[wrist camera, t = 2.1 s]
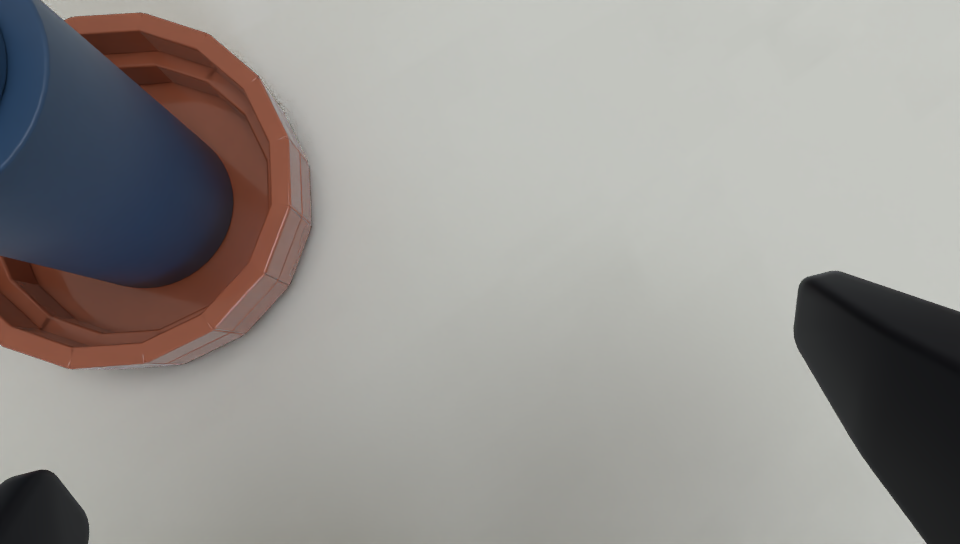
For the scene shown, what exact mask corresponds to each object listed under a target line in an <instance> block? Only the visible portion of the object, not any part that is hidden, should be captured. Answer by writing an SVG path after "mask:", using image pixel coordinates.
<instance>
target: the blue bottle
mask: <svg viewBox="0 0 960 544" xmlns="http://www.w3.org/2000/svg"><path fill="white" fill-rule="evenodd" d="M232 211H233V192H232V186H231V182H230V179H229V176H228V173H227V171H226V169H225V167H224V165H223V163H222V161H221V160H220V158H219V157H218V155H217V154H216V153H215V152H214V151H213V150H212V149H211V148H210V147H209V146H208V145H207V144H206V143H205V142H204V141H202V140H201V139H200V138H199V137H198V136H197V135H196V134H194V133H193V132H192V131H191V130H190V129H189V128H187V127H186V126H185V125H184V124H183V123H182V122H180V121H179V120H178V119H177V118H176V117H175V116H174V115H172V114H171V113H170V112H169V111H168V110H167V109H165V108H164V107H163V106H162V105H161V104H160V103H159V102H157V101H156V100H155V99H154V98H153V97H152V96H150V95H149V94H148V93H147V92H146V91H145V90H144V89H142V88H141V87H140V86H139V85H138V84H137V83H135V82H134V81H133V80H132V79H131V78H130V77H129V76H127V75H126V74H125V73H124V72H123V71H122V70H120V69H119V68H118V67H117V66H116V65H115V64H114V63H112V62H111V61H110V60H109V59H108V58H107V57H105V56H104V55H103V54H102V53H101V52H100V51H99V50H97V49H96V48H95V47H94V46H93V45H92V44H90V43H89V42H88V41H87V40H86V39H85V38H84V37H82V36H81V35H80V34H79V33H78V32H77V31H75V30H74V29H73V28H72V27H71V26H70V25H69V24H67V23H66V22H65V21H64V20H63V19H62V18H60V17H59V16H58V15H57V14H56V13H55V12H54V11H52V10H51V9H50V8H49V7H48V6H47V5H45V4H44V3H43V2H42V1H41V0H0V256H4V257H8V258H12V259H16V260H20V261H24V262H29V263H33V264H37V265H41V266H45V267H49V268H53V269H57V270H61V271H65V272H69V273H73V274H77V275H82V276H86V277H90V278H94V279H98V280H102V281H106V282H110V283H114V284H118V285H122V286H128V287H133V288H153V287H160V286H165V285H169V284H172V283H174V282H177V281H180V280H182V279H184V278H186V277H188V276H189V275H191V274H192V273H194V272H195V271H197V270H198V269H200V268H201V267H202V266H203V265H204V264H205V263H207V262H208V260H209V259H210V258H211V257H212V256H213V255H214V254H215V252H216V251H217V250H218V248H219V247H220V245H221V244H222V242H223V240H224V238H225V236H226V234H227V231H228V228H229V225H230V222H231V217H232Z"/></svg>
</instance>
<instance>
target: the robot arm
mask: <svg viewBox="0 0 960 544" xmlns="http://www.w3.org/2000/svg"><path fill="white" fill-rule="evenodd" d="M794 339H795V343H796V345H797V348H798V350H799V352H800V353H801V355H802V357H803V358H804V360H805V362H806V363H807V365H808V367H809V369H810V370H811V372H812V374H813V375H814V377H815V379H816V380H817V382H818V384H819V385H820V387H821V389H822V391H823V392H824V394H825V396H826V397H827V399H828V401H829V402H830V404H831V406H832V408H833V409H834V411H835V413H836V414H837V416H838V418H839V419H840V421H841V423H842V425H843V426H844V428H845V430H846V431H847V433H848V435H849V436H850V438H851V440H852V441H853V443H854V444H855V446H856V447H857V449H858V451H859V452H860V454H861V455H862V457H863V458H864V459H865V461H866V462H867V464H868V465H869V466H870V468H871V469H872V471H873V472H874V473H875V475H876V476H877V477H878V479H879V480H880V481H881V483H882V484H883V485H884V487H885V488H886V489H887V491H888V492H889V493H890V495H891V496H892V497H893V499H894V500H895V502H896V503H897V504H898V506H899V507H900V508H901V510H902V511H903V512H904V514H905V515H906V516H907V518H908V519H909V520H910V522H911V523H912V524H913V526H914V527H915V528H916V530H917V531H918V532H919V534H920V535H921V536H922V538H923V539H924V540H925V542H926V543H927V544H960V312H959V311H956V310H953V309H950V308H947V307H944V306H941V305H938V304H935V303H932V302H929V301H926V300H923V299H920V298H917V297H914V296H911V295H909V294H906V293H903V292H900V291H897V290H894V289H891V288H888V287H885V286H882V285H879V284H876V283H873V282H870V281H867V280H864V279H861V278H858V277H855V276H852V275H849V274H846V273H843V272H840V271H829V272H825V273H821V274H817V275H813V276H809V277H806V278H805V279H803V280H802V281H801V283H800V285H799V288H798V295H797V304H796V312H795V321H794ZM88 540H89V523H88V518H87V516H86V514H85V512H84V510H83V509H82V507H81V506H80V505H79V504H78V502H77V501H76V500H75V499H74V497H73V496H72V495H71V494H70V492H69V491H68V490H67V488H66V487H65V486H64V485H63V483H62V482H61V481H60V480H59V478H58V477H57V476H56V475H55V474H54V473H52V472H51V471H48V470H37V471H33V472H29V473H25V474H22V475H18V476H14V477H11V478H9V479H7V480H5V481H4V482H3V483H1V484H0V544H88Z"/></svg>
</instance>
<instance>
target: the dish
mask: <svg viewBox="0 0 960 544" xmlns="http://www.w3.org/2000/svg"><path fill="white" fill-rule="evenodd" d="M64 21H65V22H66V23H67V24H69V25H70V26H71V27H72V28H73V29H74V30H75V31H77V32H78V33H79V34H80V35H81V36H82V37H84V38H85V39H86V40H87V41H88V42H89V43H90V44H92V45H93V46H94V47H95V48H96V49H97V50H99V51H100V52H101V53H102V54H103V55H104V56H105V57H107V58H108V59H109V60H110V61H111V62H112V63H114V64H115V65H116V66H117V67H118V68H119V69H120V70H122V71H123V72H124V73H125V74H126V75H127V76H129V77H130V78H131V79H132V80H133V81H134V82H135V83H137V84H138V85H139V86H140V87H141V88H142V89H144V90H145V91H146V92H147V93H148V94H149V95H150V96H152V97H153V98H154V99H155V100H156V101H157V102H159V103H160V104H161V105H162V106H163V107H164V108H165V109H167V110H168V111H169V112H170V113H171V114H172V115H174V116H175V117H176V118H177V119H178V120H179V121H180V122H182V123H183V124H184V125H185V126H186V127H187V128H189V129H190V130H191V131H192V132H193V133H194V134H196V135H197V136H198V137H199V138H200V139H201V140H202V141H204V142H205V143H206V144H207V145H208V146H209V147H210V148H211V149H212V150H213V151H214V152H215V153H216V154H217V155H218V157H219V158H220V160H221V161H222V163H223V165H224V167H225V169H226V171H227V173H228V176H229V179H230V182H231V186H232V192H233V211H232V217H231V222H230V225H229V228H228V231H227V234H226V236H225V238H224V240H223V242H222V244H221V245H220V247H219V248H218V250H217V251H216V252H215V254H214V255H213V256H212V257H211V258H210V259H209V260H208V262H207V263H205V264H204V265H203V266H202V267H201V268H200V269H198V270H197V271H195V272H194V273H192V274H191V275H189V276H188V277H186V278H184V279H182V280H180V281H177V282H174V283H172V284H169V285H165V286H160V287H153V288H133V287H128V286H122V285H118V284H114V283H110V282H106V281H102V280H98V279H94V278H90V277H86V276H82V275H77V274H73V273H69V272H65V271H61V270H57V269H53V268H49V267H45V266H41V265H37V264H33V263H29V262H24V261H20V260H16V259H12V258H8V257H4V256H0V345H1V346H3V347H5V348H8V349H11V350H14V351H17V352H20V353H23V354H26V355H29V356H32V357H35V358H38V359H41V360H44V361H47V362H50V363H53V364H56V365H58V366H61V367H64V368H67V369H131V368H144V367H158V366H171V365H182V364H186V363H188V362H190V361H192V360H194V359H196V358H198V357H200V356H202V355H204V354H206V353H208V352H210V351H212V350H215V349H217V348H219V347H221V346H223V345H225V344H227V343H229V342H231V341H233V340H235V339H237V338H239V337H241V336H243V335H244V334H246V333H247V332H248V331H249V329H250V328H251V327H252V326H253V325H254V324H255V323H256V322H257V321H258V320H259V318H260V317H261V316H262V315H263V314H264V313H265V312H266V311H267V310H268V309H269V308H270V306H271V305H272V304H273V303H274V302H275V301H276V300H277V299H278V298H279V297H280V295H281V294H282V293H283V292H284V291H285V290H286V289H287V288H288V285H290V283H291V280H292V278H293V275H294V272H295V270H296V267H297V264H298V262H299V259H300V256H301V254H302V251H303V248H304V245H305V243H306V240H307V237H308V235H309V232H310V229H311V199H310V175H309V165H308V160H307V158H306V156H305V154H304V152H303V150H302V148H301V146H300V144H299V142H298V140H297V138H296V136H295V134H294V132H293V130H292V128H291V125H290V123H289V121H288V119H287V117H286V115H285V113H284V111H283V110H282V109H281V107H280V106H279V104H278V103H277V102H276V100H275V99H274V98H273V96H272V94H271V93H270V92H269V90H268V89H267V87H266V86H265V84H264V83H263V82H262V80H261V79H260V78H259V76H258V75H257V74H256V73H254V72H253V71H252V70H251V69H250V68H249V67H247V66H246V65H245V64H244V63H243V62H241V61H240V60H239V59H238V58H237V57H236V56H234V55H233V54H232V53H231V52H230V51H229V50H227V49H226V48H225V47H224V46H223V45H222V44H220V43H219V42H218V41H217V40H216V39H215V38H213V37H212V36H211V35H210V34H207V33H205V32H202V31H199V30H196V29H192V28H189V27H186V26H183V25H180V24H177V23H174V22H171V21H168V20H164V19H161V18H158V17H155V16H152V15H149V14H146V13H144V14H143V13H125V14H109V15H92V16H75V17H70V18H68V19H66V20H64Z"/></svg>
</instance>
